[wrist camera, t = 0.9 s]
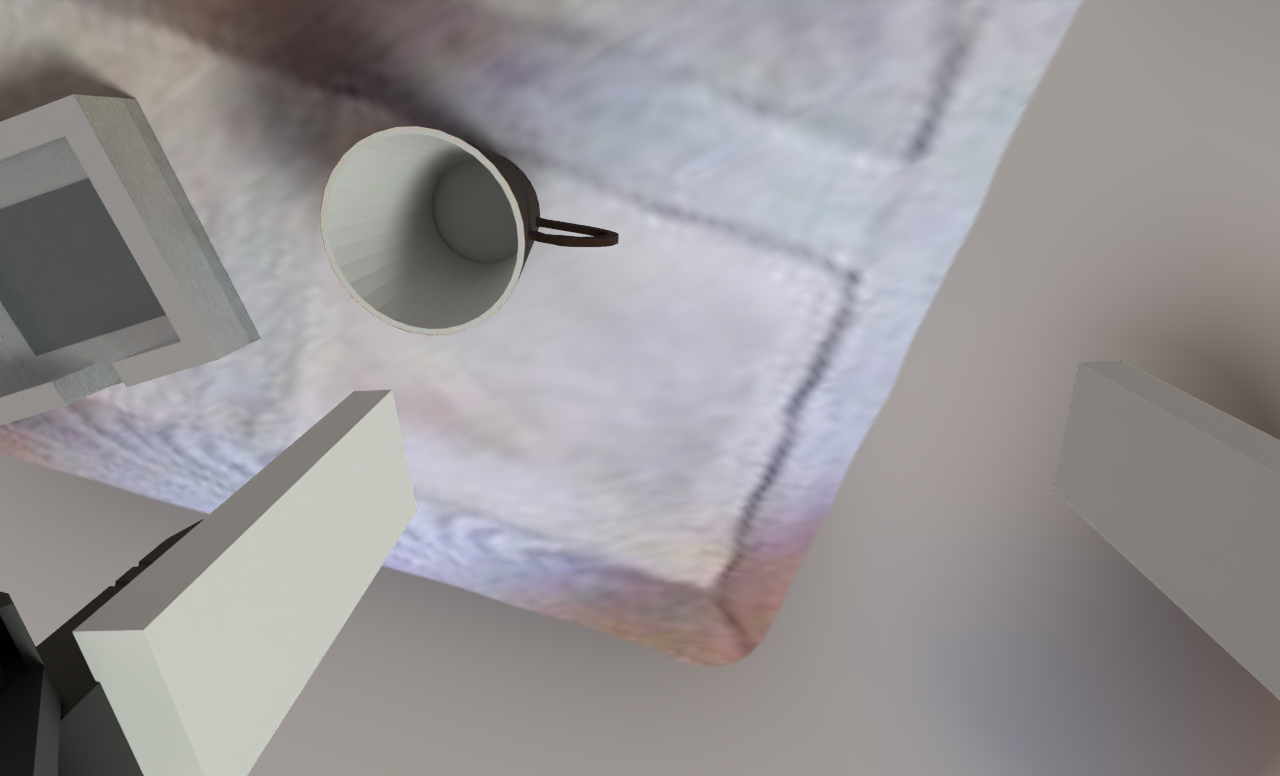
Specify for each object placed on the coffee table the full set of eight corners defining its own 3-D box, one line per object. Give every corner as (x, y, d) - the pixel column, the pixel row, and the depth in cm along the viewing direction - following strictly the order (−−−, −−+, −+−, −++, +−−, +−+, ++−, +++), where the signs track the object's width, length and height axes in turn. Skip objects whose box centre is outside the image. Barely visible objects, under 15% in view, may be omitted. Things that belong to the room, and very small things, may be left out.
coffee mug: (384, 241, 38) (293, 275, 28) (443, 98, 35) (362, 83, 25) (565, 337, 39) (534, 399, 30) (634, 208, 36) (624, 232, 27)
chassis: (-104, 187, 37) (-189, 192, 34) (135, 98, 35) (73, 94, 32) (41, 405, 42) (-20, 431, 38) (260, 338, 40) (218, 359, 36)
